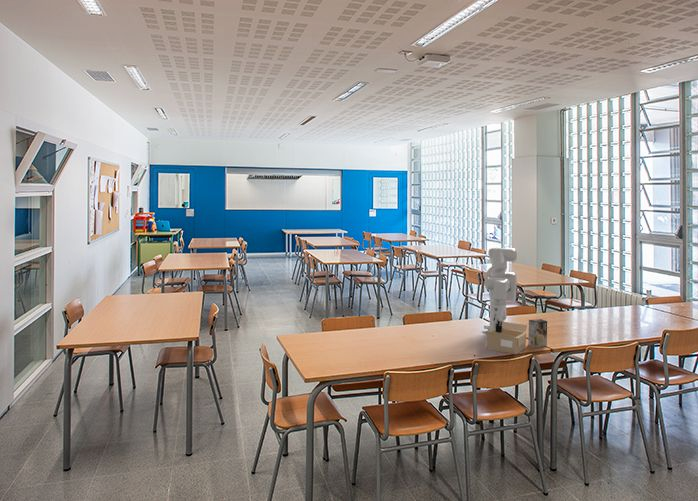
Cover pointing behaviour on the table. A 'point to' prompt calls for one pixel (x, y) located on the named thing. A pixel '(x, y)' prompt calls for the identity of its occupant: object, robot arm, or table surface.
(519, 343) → the carton
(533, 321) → the coffee box
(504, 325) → the far flap
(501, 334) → the near flap
